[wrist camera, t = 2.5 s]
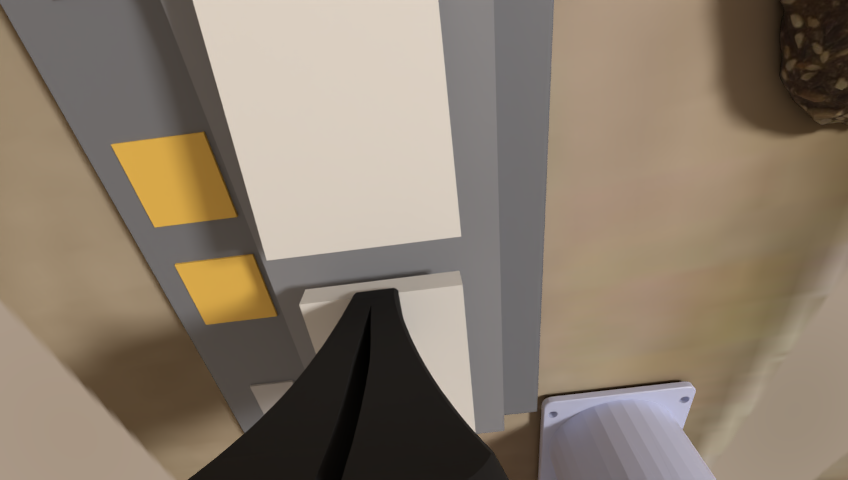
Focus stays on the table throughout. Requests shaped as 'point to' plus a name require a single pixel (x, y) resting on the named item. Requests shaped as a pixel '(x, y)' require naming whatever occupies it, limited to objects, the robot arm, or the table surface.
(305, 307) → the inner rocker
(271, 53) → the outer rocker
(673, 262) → the table surface
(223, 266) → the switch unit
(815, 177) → the table surface
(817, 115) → the bread roll
